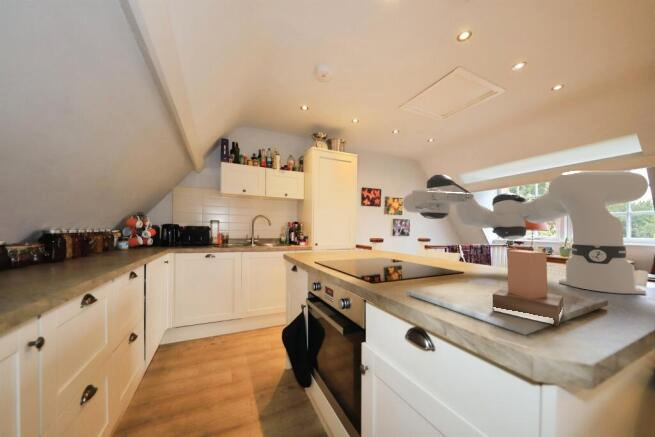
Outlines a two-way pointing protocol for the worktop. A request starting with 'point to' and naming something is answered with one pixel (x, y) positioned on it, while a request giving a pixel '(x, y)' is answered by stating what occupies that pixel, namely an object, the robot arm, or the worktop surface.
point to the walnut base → (530, 304)
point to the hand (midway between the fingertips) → (460, 195)
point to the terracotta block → (527, 273)
